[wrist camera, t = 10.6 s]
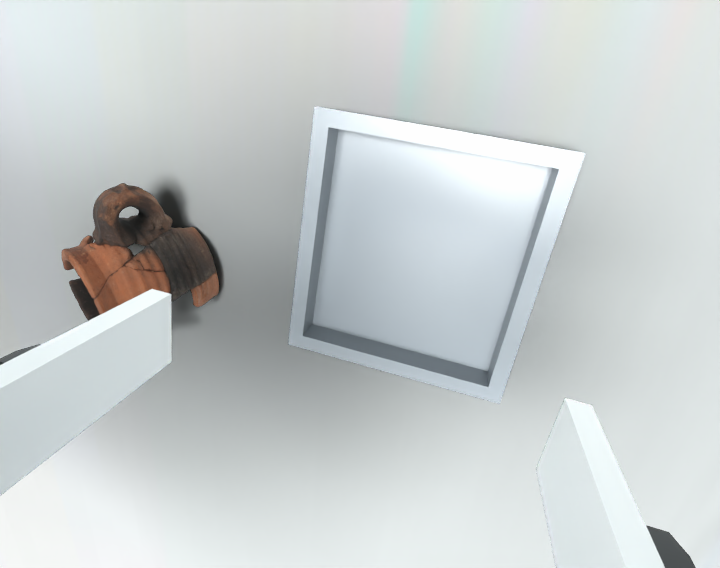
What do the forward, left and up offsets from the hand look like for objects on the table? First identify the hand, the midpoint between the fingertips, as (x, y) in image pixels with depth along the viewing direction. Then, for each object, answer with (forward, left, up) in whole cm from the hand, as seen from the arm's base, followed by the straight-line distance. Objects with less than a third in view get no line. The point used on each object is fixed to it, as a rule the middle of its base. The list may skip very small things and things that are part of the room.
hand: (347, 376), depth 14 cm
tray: (0, 0, -16) cm, 16 cm away
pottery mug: (-17, -4, -17) cm, 25 cm away
